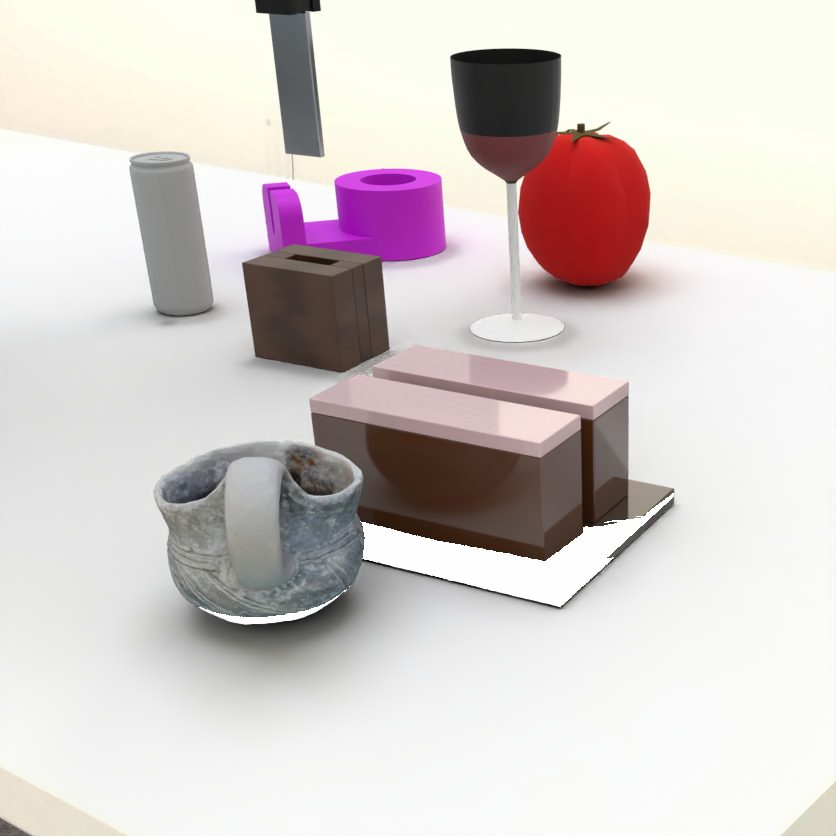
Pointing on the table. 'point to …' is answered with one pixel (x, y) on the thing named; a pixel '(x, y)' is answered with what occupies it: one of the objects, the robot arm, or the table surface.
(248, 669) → the table surface
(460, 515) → the cake
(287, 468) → the mug
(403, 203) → the tape dispenser
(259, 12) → the robot arm
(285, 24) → the knife
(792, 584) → the table surface
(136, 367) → the table surface
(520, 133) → the wineglass
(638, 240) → the tomato
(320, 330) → the knife block
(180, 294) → the beverage can
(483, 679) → the table surface
